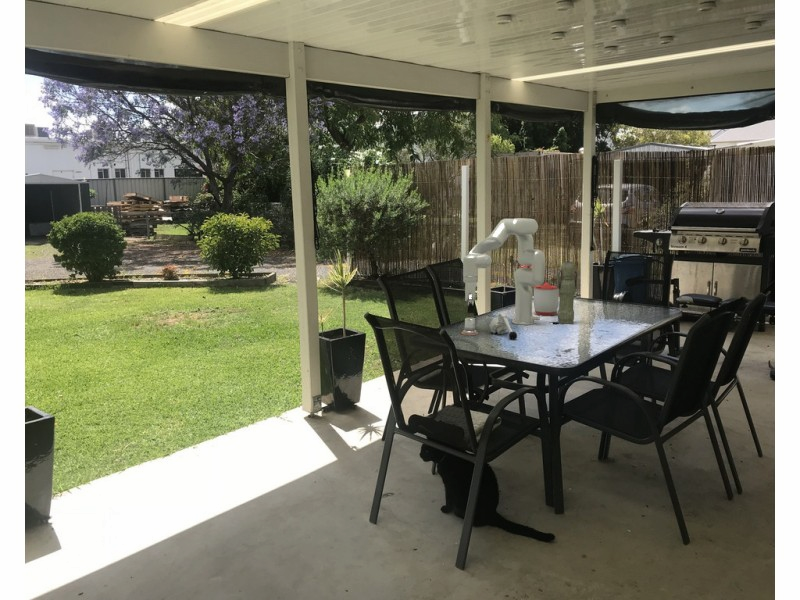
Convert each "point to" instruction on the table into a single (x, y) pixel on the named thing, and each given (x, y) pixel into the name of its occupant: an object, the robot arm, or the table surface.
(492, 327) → the mechanical valve
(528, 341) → the table surface
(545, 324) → the table surface
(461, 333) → the gasket pad
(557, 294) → the citrus juicer
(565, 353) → the table surface
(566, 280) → the stone statue
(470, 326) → the pipe coupling
